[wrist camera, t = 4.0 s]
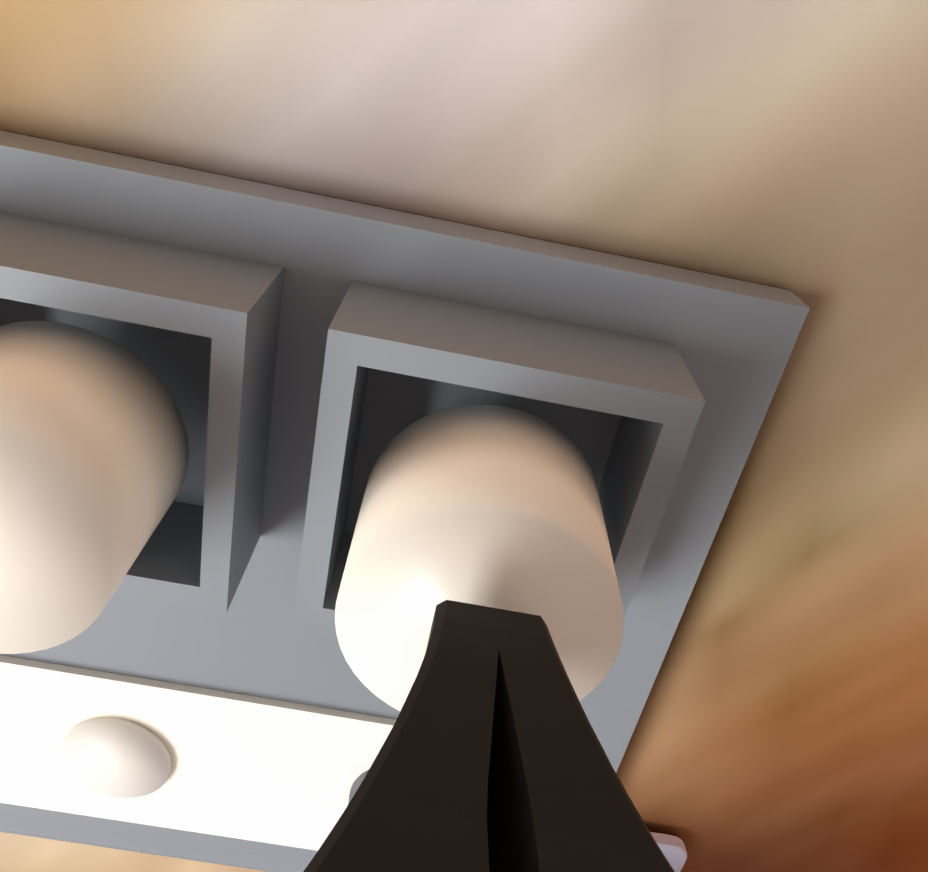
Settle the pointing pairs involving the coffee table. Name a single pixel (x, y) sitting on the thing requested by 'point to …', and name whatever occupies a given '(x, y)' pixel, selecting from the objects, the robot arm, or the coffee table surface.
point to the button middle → (76, 476)
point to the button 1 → (478, 545)
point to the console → (334, 473)
